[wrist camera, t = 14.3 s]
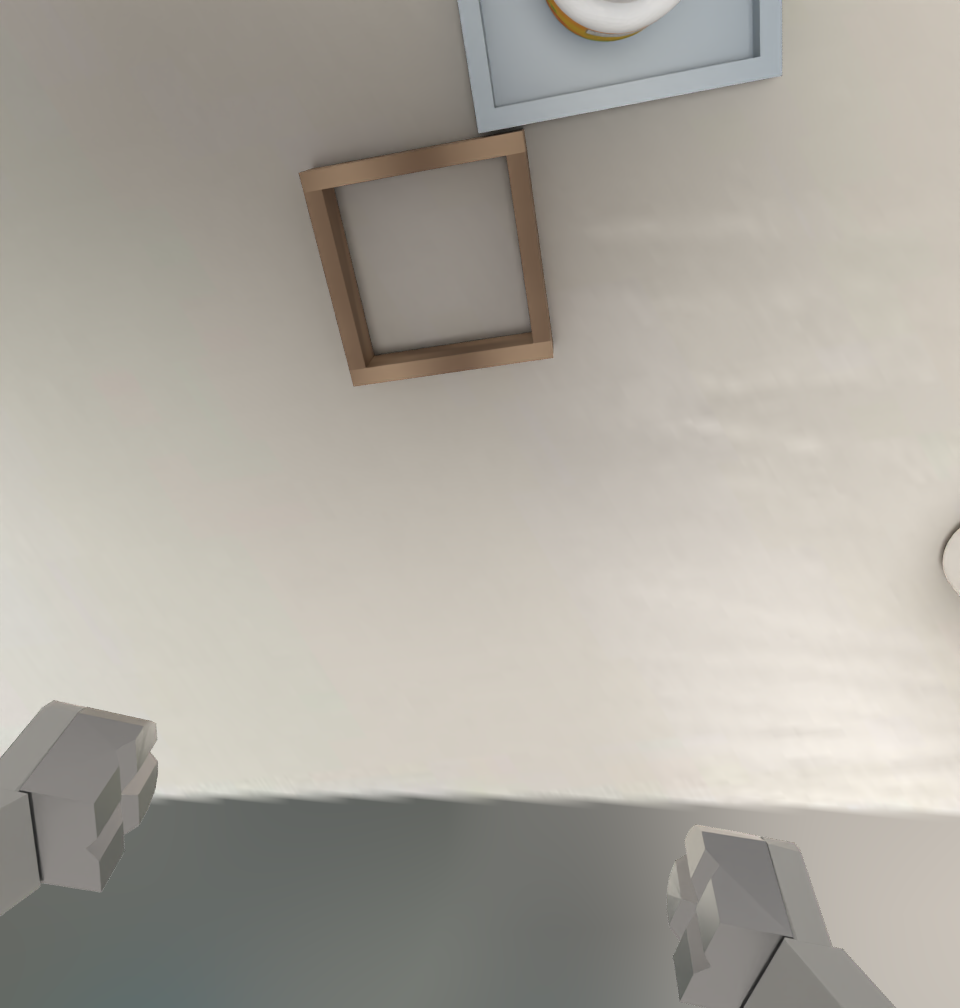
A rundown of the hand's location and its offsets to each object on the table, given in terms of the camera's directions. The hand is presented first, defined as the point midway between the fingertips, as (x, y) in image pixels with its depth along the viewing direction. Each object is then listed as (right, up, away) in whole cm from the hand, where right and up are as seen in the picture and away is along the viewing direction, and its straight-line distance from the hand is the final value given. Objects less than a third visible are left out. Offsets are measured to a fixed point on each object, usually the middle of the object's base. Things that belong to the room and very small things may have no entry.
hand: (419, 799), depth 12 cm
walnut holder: (-1, +16, +25) cm, 29 cm away
